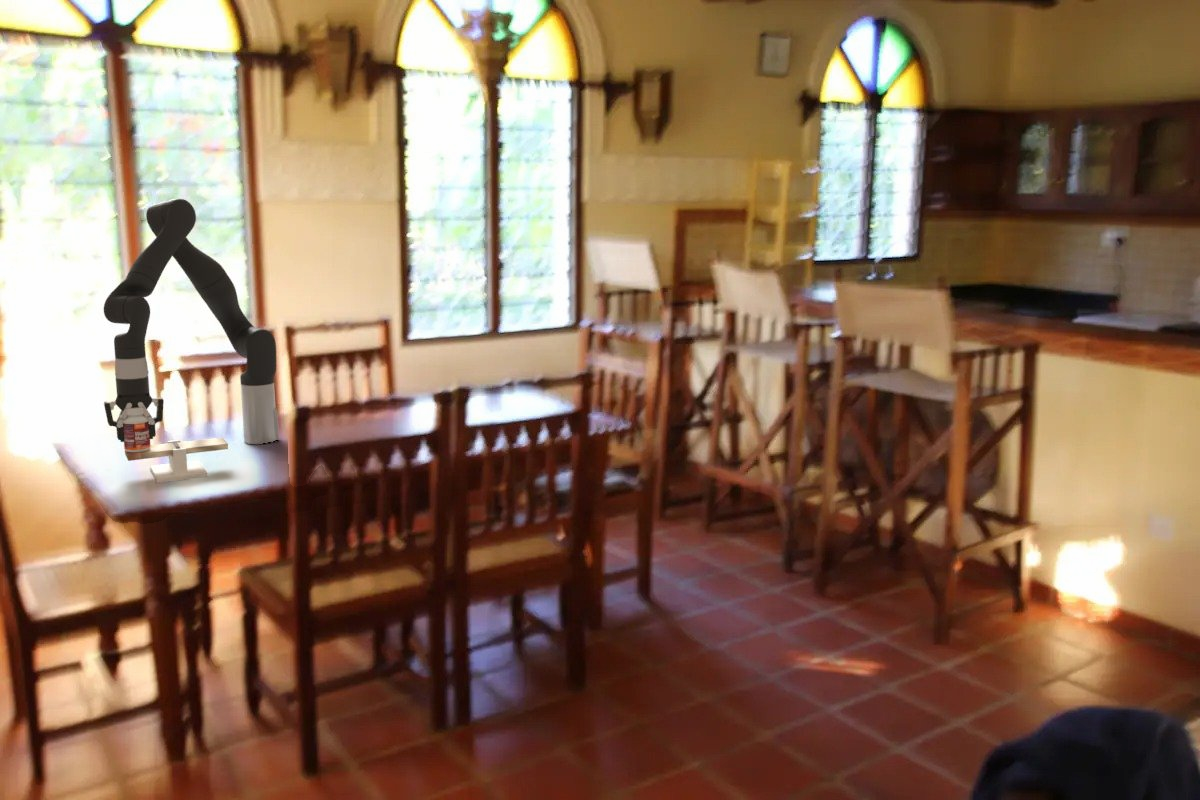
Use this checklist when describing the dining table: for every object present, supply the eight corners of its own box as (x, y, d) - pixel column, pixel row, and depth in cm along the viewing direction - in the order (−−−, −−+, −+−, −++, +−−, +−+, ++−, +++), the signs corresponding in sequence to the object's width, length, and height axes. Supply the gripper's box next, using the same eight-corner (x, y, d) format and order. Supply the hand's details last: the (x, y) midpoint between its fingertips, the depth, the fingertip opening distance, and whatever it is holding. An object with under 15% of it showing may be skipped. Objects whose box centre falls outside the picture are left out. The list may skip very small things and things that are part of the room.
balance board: (222, 443, 281) (222, 436, 281) (228, 449, 274) (227, 443, 274) (125, 454, 270) (124, 447, 269) (128, 461, 263) (127, 454, 262)
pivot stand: (198, 463, 282) (196, 436, 280) (207, 476, 270) (205, 448, 268) (150, 469, 276) (148, 441, 274) (157, 482, 264) (155, 453, 263)
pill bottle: (139, 454, 263) (135, 409, 261) (118, 451, 265) (115, 408, 263) (156, 448, 269) (152, 405, 267) (136, 446, 271) (133, 403, 268)
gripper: (160, 370, 270) (165, 434, 273) (99, 374, 263) (104, 439, 266) (164, 375, 263) (169, 440, 267) (101, 379, 256) (106, 446, 260)
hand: (136, 439), depth 266 cm, fingers closed on pill bottle, 6 cm apart
